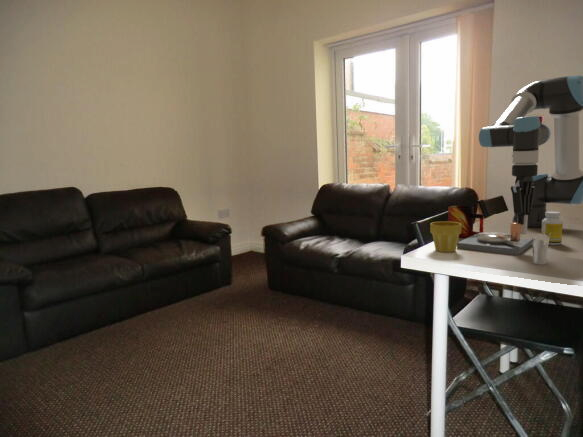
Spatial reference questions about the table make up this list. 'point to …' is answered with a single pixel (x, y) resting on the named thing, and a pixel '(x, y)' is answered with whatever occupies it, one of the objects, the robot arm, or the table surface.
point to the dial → (502, 236)
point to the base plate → (494, 246)
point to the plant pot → (445, 235)
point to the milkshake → (540, 248)
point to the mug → (465, 219)
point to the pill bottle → (552, 227)
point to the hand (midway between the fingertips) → (521, 233)
